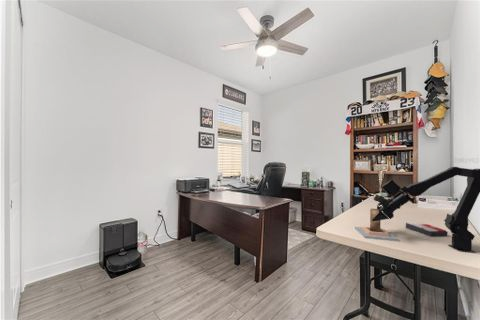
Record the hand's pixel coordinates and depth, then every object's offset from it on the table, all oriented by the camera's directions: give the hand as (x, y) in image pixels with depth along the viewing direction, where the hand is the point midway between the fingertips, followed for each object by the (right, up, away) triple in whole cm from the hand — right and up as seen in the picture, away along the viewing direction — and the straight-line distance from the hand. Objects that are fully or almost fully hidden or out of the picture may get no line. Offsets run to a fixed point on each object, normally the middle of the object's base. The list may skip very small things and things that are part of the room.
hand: (372, 218), depth 112 cm
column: (+1, -8, -1) cm, 8 cm away
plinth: (+1, -9, -1) cm, 9 cm away
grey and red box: (+36, -10, +6) cm, 38 cm away
